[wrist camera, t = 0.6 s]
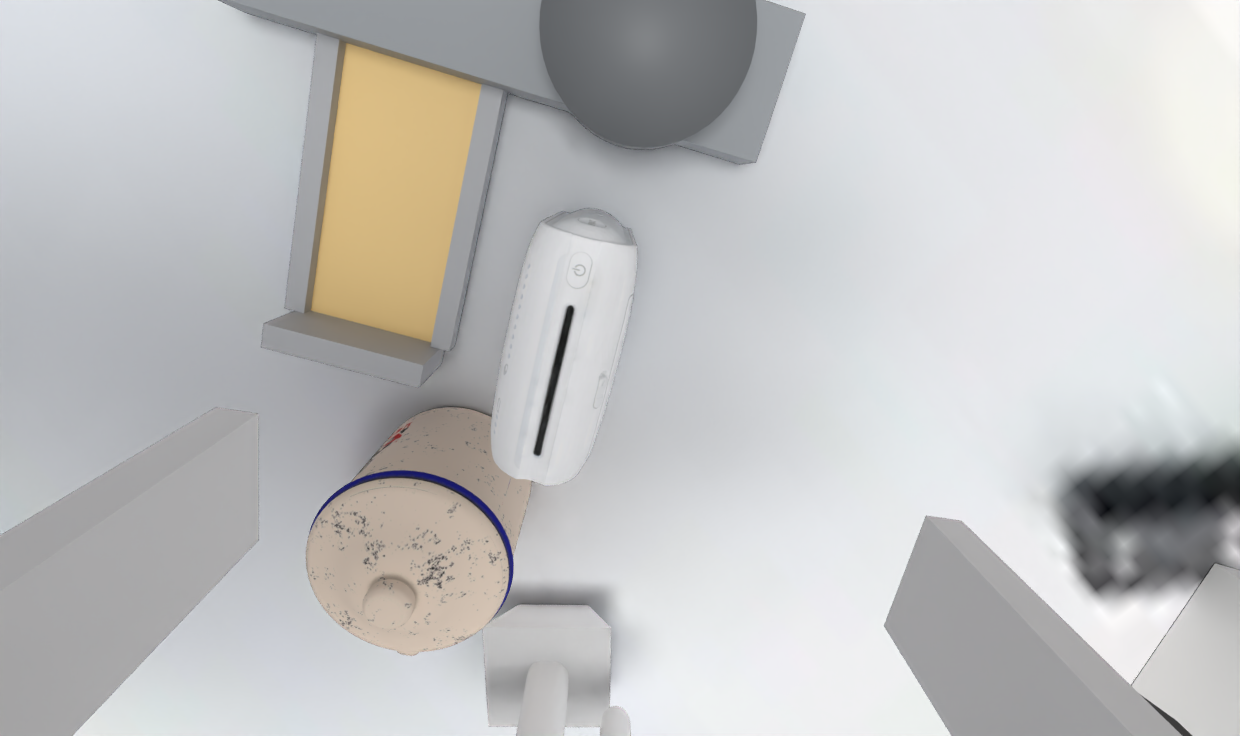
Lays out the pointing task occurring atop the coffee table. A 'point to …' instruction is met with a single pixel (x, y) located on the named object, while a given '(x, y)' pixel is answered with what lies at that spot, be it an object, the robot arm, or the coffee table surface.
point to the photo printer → (562, 345)
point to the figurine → (550, 671)
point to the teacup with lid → (420, 536)
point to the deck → (482, 140)
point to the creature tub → (1200, 660)
